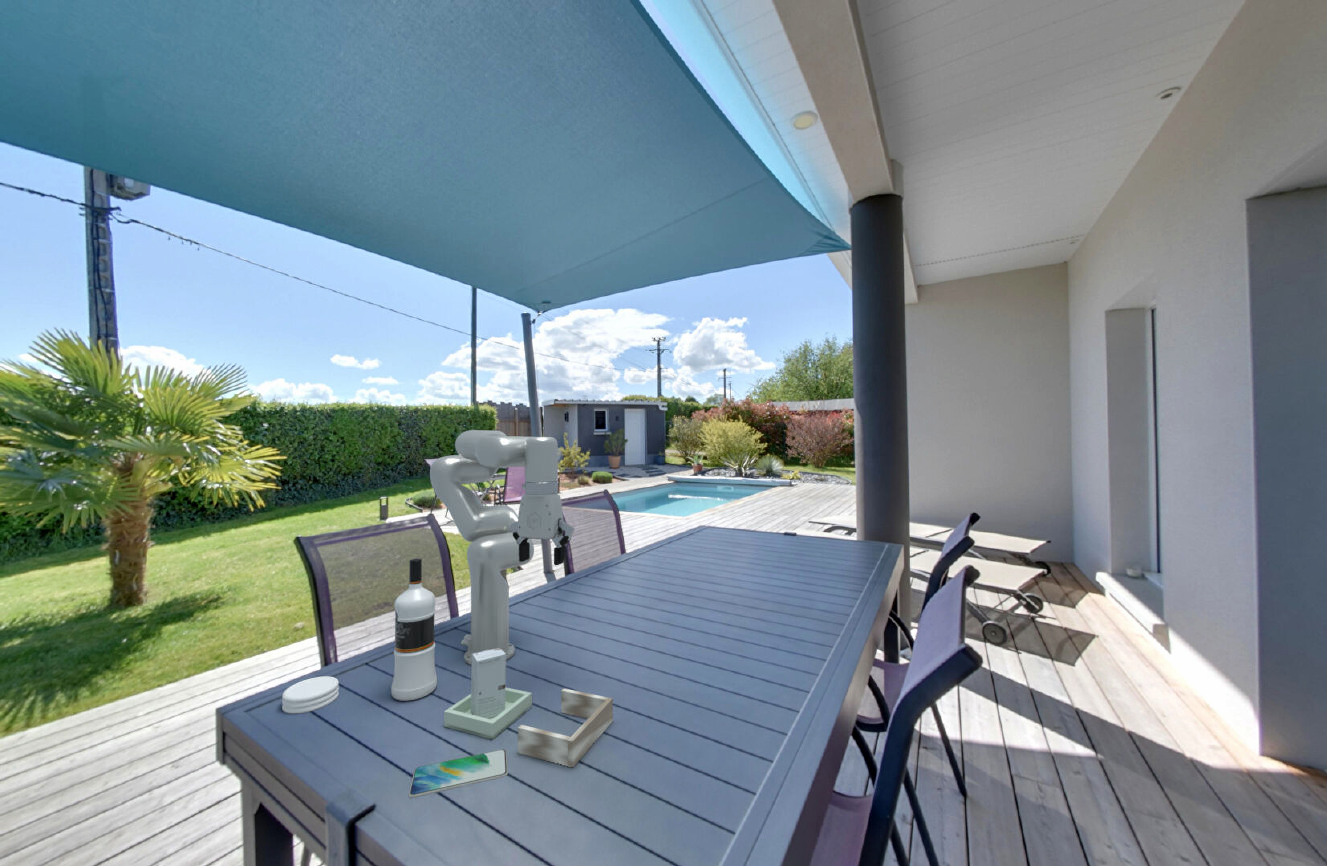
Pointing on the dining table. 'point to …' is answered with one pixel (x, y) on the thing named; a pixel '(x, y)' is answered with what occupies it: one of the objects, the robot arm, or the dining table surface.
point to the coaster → (310, 694)
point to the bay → (579, 743)
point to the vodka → (414, 639)
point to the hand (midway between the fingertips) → (541, 562)
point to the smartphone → (458, 773)
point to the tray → (490, 727)
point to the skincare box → (488, 683)
